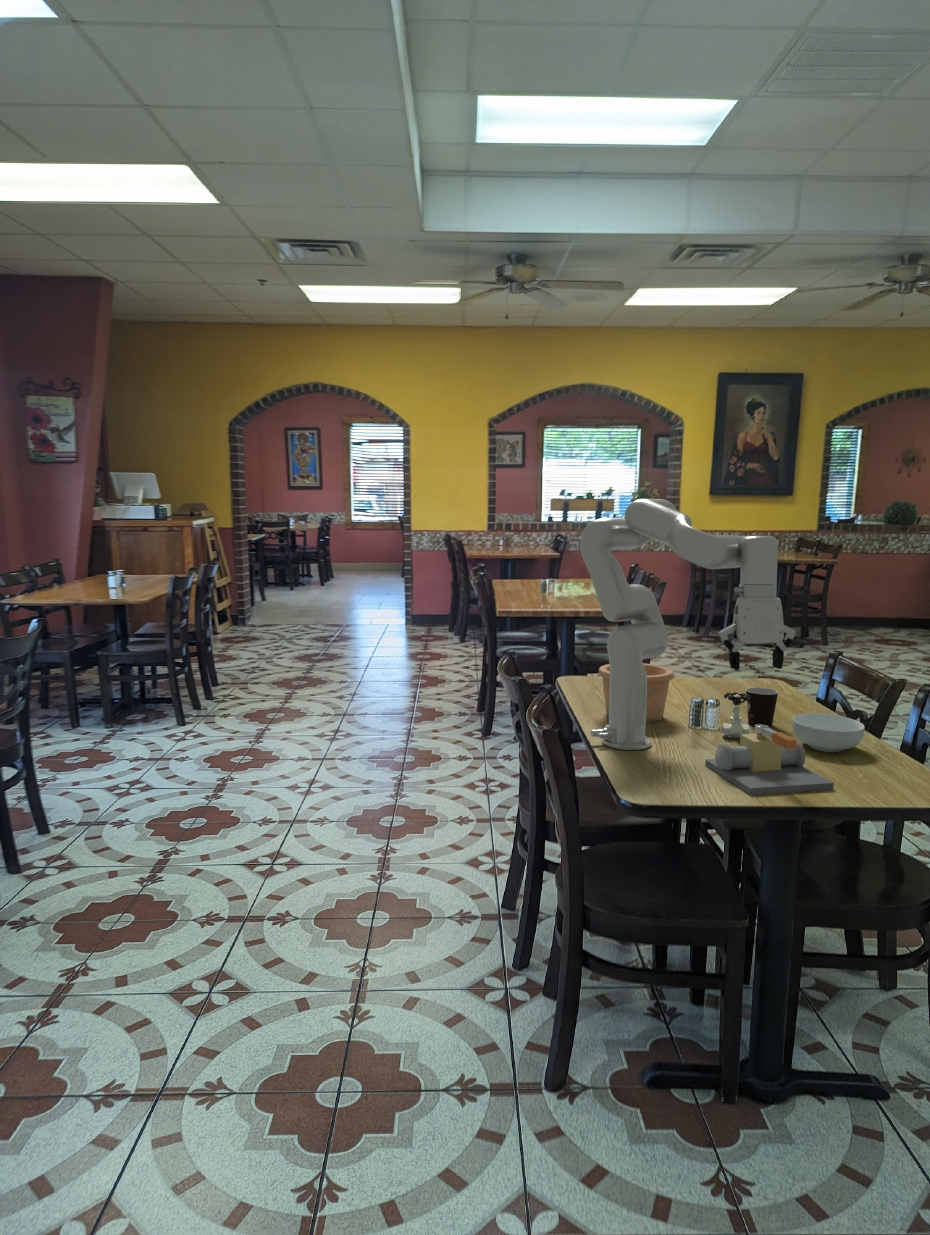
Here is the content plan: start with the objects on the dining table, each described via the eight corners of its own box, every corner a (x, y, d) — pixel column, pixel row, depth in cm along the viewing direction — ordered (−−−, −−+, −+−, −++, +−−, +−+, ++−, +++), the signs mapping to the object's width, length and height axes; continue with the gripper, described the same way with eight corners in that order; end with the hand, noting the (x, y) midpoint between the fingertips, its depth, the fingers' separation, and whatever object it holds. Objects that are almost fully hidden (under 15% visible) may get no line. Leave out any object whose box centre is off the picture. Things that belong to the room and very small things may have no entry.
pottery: (594, 706, 241) (596, 661, 240) (666, 708, 239) (667, 663, 238) (600, 725, 220) (601, 676, 218) (678, 727, 218) (680, 677, 216)
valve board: (749, 794, 165) (752, 753, 164) (705, 765, 185) (706, 727, 183) (833, 789, 169) (836, 748, 167) (780, 760, 188) (783, 724, 187)
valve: (749, 742, 204) (752, 698, 202) (723, 740, 205) (725, 697, 203) (745, 735, 210) (748, 692, 208) (720, 734, 211) (722, 691, 210)
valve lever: (752, 732, 180) (752, 723, 179) (763, 731, 180) (764, 723, 180) (785, 749, 166) (786, 740, 166) (798, 748, 167) (798, 739, 167)
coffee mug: (773, 730, 215) (775, 695, 213) (741, 726, 219) (743, 692, 218) (780, 721, 224) (782, 687, 223) (750, 717, 229) (751, 684, 228)
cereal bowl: (792, 753, 194) (794, 726, 193) (789, 736, 210) (790, 710, 209) (867, 761, 188) (869, 733, 188) (858, 742, 204) (860, 716, 203)
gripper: (726, 594, 165) (725, 672, 167) (804, 592, 166) (802, 670, 168) (713, 591, 172) (711, 666, 174) (787, 589, 173) (785, 664, 175)
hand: (756, 668), depth 171 cm, fingers open, 9 cm apart
